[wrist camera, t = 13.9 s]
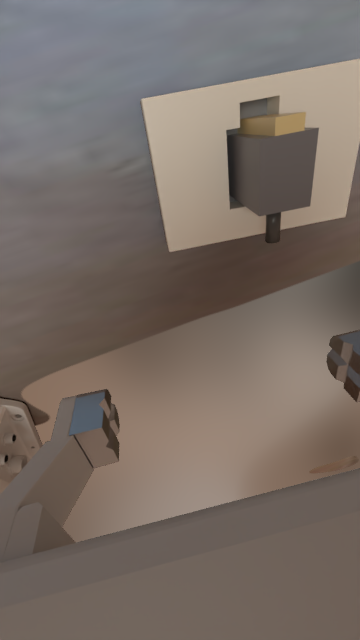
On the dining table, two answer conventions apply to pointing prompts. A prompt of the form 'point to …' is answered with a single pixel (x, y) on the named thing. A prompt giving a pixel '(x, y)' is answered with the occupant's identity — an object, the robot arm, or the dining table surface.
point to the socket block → (223, 119)
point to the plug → (272, 166)
